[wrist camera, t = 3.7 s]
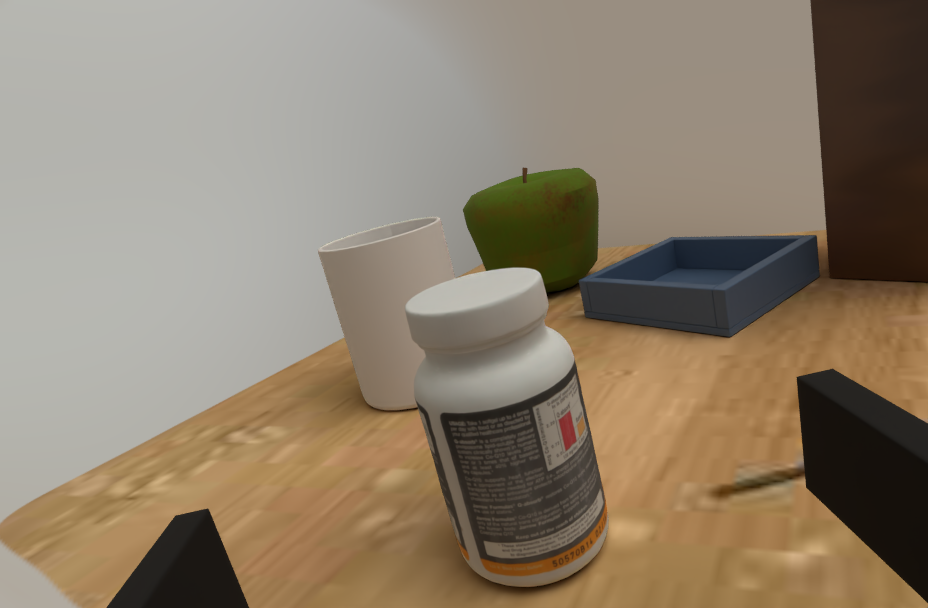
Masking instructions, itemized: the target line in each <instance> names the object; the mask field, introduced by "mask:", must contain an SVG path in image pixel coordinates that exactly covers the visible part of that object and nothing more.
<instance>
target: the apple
mask: <svg viewBox="0 0 928 608" xmlns="http://www.w3.org/2000/svg"><path fill="white" fill-rule="evenodd" d="M463 212H464V216H465V220H466V224H467V228H468V230H469V232H470V234H471V236H472V238H473V241H474V243H475V245H476V247H477V250H478V252H479V254H480V257H481V259H482V261H483V264H484V266H485V269H486V271H490V270H497V269H504V268H530V269H534V270H536V271H538V272H539V273H540V274H541V276H542V279H543V283H544V287H545V290H546V293H548V292H554V291H560V290H563V289H566V288H569V287H572V286H574V285H576V284H577V283H579V280H580V279H582V278H584V277H585V276H586V274H587V273H588V272H589V271H590V269H591V268H592V267H593V266H594V264H595V262H596V261H597V253H598V193H597V188H596V181H595V179H593V178H592V177H591V176H590V175H589V174H587V173H586V172H585V171H584V170H582V169H580V168H572V169H562V170H552V171H545V172H538V173H533V174H527V168H523V176H519V177H516V178H512V179H509V180H507V181H504V182H501V183H499V184H497V185H494V186H492V187H489V188H487V189H485V190H482V191H480V192H478V193H476V194H474V195H472V196H471V198H470V199H469V201H468V202H467V204H466V205H465V207H464V209H463Z"/></svg>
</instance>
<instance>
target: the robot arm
mask: <svg viewBox="0 0 928 608" xmlns="http://www.w3.org/2000/svg"><path fill="white" fill-rule="evenodd" d="M797 386H798V398H799V409H800V421H801V433H802V444H803V456H804V467H805V479H806V488H807V489H808V490H809V491H811V492H812V493H813V494H814V495H815V496H816V497H817V498H818V499H819V500H820V501H821V502H822V503H823V504H824V505H825V506H826V507H827V508H828V509H829V510H831V511H832V512H833V513H834V514H835V515H836V516H837V517H838V518H839V519H840V520H841V521H842V522H843V523H844V524H845V525H846V526H847V527H848V528H849V529H851V530H852V531H853V532H854V533H855V534H856V535H857V536H858V537H859V538H860V539H861V540H862V541H863V542H864V543H865V544H866V545H867V546H868V547H869V548H871V549H872V550H873V551H874V552H875V553H876V554H877V555H878V556H879V557H880V558H881V559H882V560H883V561H884V562H885V563H886V564H887V565H888V566H889V567H891V568H892V569H893V570H894V571H895V572H896V573H897V574H898V575H899V576H900V577H901V578H902V579H903V580H904V581H905V582H906V583H907V584H908V585H909V586H911V587H912V588H913V589H914V590H915V591H916V592H917V593H918V594H919V595H920V596H921V597H922V598H923V599H924V600H925V601H926V602H927V603H928V423H926V422H924V421H922V420H921V419H919V418H917V417H915V416H914V415H912V414H910V413H908V412H907V411H905V410H903V409H902V408H900V407H898V406H896V405H895V404H893V403H891V402H889V401H888V400H886V399H884V398H882V397H881V396H879V395H877V394H875V393H874V392H872V391H870V390H868V389H867V388H865V387H863V386H861V385H860V384H858V383H856V382H854V381H853V380H851V379H849V378H848V377H846V376H844V375H842V374H841V373H839V372H837V371H835V370H834V369H830V370H825V371H821V372H816V373H812V374H808V375H803V376H799V377H797ZM107 608H249V606H248V604H247V602H246V599H245V597H244V594H243V592H242V589H241V587H240V585H239V582H238V580H237V577H236V575H235V572H234V570H233V567H232V565H231V563H230V560H229V558H228V555H227V553H226V550H225V548H224V546H223V543H222V541H221V538H220V536H219V533H218V531H217V528H216V526H215V524H214V521H213V519H212V516H211V514H210V511H209V509H204V510H199V511H195V512H190V513H186V514H181V515H177V516H175V517H174V518H173V520H172V521H171V522H170V524H169V525H168V526H167V528H166V529H165V530H164V532H163V533H162V534H161V536H160V537H159V538H158V540H157V541H156V542H155V544H154V545H153V546H152V548H151V549H150V550H149V552H148V553H147V554H146V556H145V557H144V558H143V560H142V561H141V562H140V564H139V565H138V566H137V568H136V569H135V570H134V572H133V573H132V574H131V576H130V577H129V578H128V580H127V581H126V582H125V584H124V585H123V586H122V588H121V589H120V590H119V592H118V593H117V594H116V596H115V597H114V598H113V600H112V601H111V602H110V604H109V605H108V606H107Z"/></svg>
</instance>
